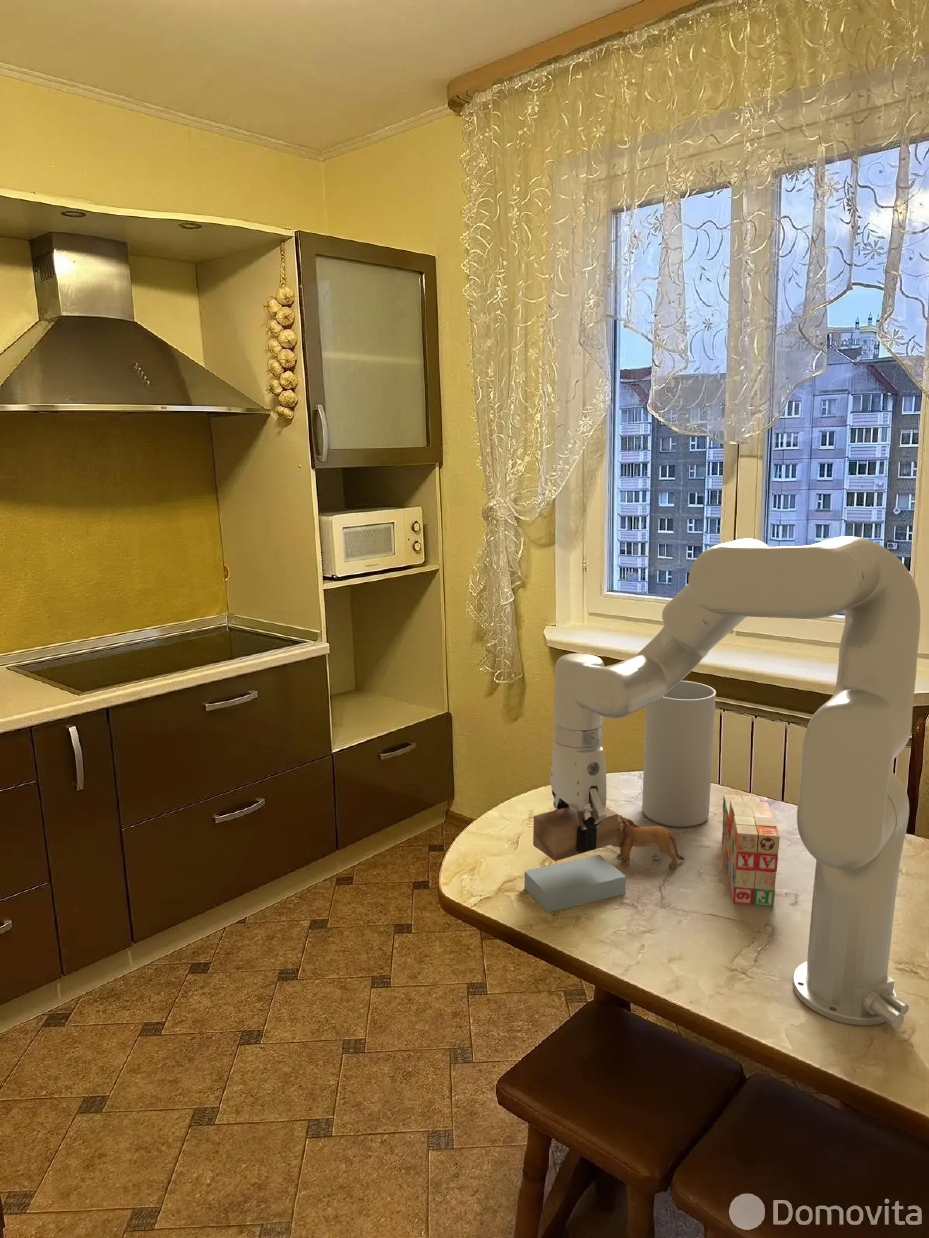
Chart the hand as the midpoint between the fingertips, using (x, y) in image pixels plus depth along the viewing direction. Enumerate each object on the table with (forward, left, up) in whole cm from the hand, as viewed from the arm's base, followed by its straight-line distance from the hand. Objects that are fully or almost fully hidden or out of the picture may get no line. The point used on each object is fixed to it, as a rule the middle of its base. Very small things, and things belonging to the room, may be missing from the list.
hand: (574, 839), depth 138 cm
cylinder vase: (+17, -32, -9) cm, 37 cm away
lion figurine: (+3, -15, -9) cm, 18 cm away
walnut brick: (0, 0, -1) cm, 1 cm away
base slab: (0, 0, -9) cm, 9 cm away
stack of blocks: (-6, -29, -9) cm, 31 cm away
